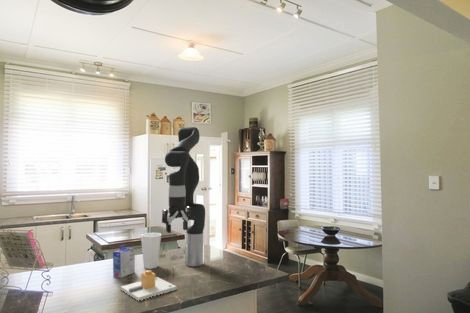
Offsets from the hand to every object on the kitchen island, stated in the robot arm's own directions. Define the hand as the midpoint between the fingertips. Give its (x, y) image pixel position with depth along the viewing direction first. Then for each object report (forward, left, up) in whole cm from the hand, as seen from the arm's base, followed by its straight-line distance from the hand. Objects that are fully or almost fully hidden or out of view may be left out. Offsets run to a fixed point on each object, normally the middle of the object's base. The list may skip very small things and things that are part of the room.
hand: (177, 231), depth 147 cm
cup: (-32, +6, -25) cm, 41 cm away
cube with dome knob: (-5, -11, -23) cm, 26 cm away
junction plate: (-4, -11, -25) cm, 28 cm away
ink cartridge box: (-30, -10, -25) cm, 41 cm away
